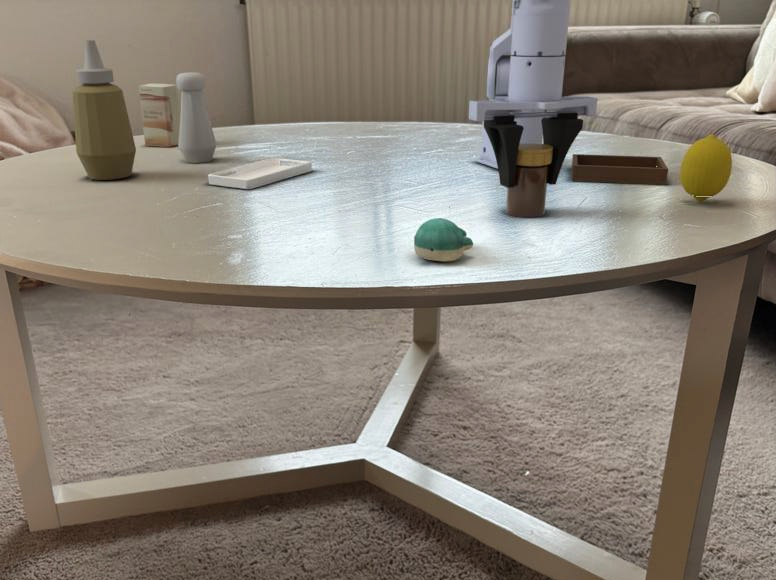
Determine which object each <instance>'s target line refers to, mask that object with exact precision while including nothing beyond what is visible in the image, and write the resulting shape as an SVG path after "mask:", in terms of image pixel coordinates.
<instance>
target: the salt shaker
mask: <svg viewBox="0 0 776 580" xmlns="http://www.w3.org/2000/svg"><path fill="white" fill-rule="evenodd" d="M205 77H206V76H204V75H203V74H202V73H200V72H195V71H193V72H192V71H191V72H189V71H188V72H181V73H178V74H177V76H176V87H177V90H180V91H181V96H180V98H181V99H180V115H179V121H180V130H179V143H178V145H177V146H178V150H179V152H180V153H181V155H182V157H183V159H184V160H185V162H186V163H190V164H191V163H192V164H201V163H209V162H211V161H212V160H213V158H214V154H215V152H216V148H217V141H216V138H215V133H214V130H213V126H212V123H211V118H210V114H209V111H208V107H207V104H206V100H205V97H204V93H203V90H204V89H205V88H206V78H205Z"/></svg>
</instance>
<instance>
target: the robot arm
mask: <svg viewBox="0 0 776 580" xmlns="http://www.w3.org/2000/svg"><path fill="white" fill-rule="evenodd" d="M511 2H512V3H511V14H510V15H511V17H510V19H511V20H510V28H509V29H507V30H506V31H505V32H503V34H500V35H499V37H497V38H495V40H493V42H492V43H491V46H490V47H489V57H488V62H487V79H486V97H487V98H488V99H481V100H480V99H479V100H469V103H468V105H469V106H468V107H469V108H468V120H470V121H473V122H482V126H481V141H480V142H481V144H480V157H476V158H474V159H475V160H474V161H475V162H476V163H479V164H483V165H485V166H487V167H491V168H493V169H497V170H498V177H499V185H500V186H502V187H505V188H512V187H514V183H515V177H516V161H517V154H518V148H519V143H539V144H547V145H550V146H552V147H553V154H552V162H551V163H550V164H548V165H549V170H548V181H547V185H551V186H552V185H556V184H557V182H558V179H559V176H560V173H561V169H562V167H563V164H564V162H565V159H566V157H567V155H568V153H569V151H570V149H571V147H572V145H573V143H574V141H575V140H576V138H577V137H578V135H579V134H580V133H581V131H582V130H583V127H584V119H582V118H578V117H582V116H585V117H596V115H597V107H598V99H599V98H598V97H595V96H589V95H586V96H563V86H564V85H563V84H564V76H565V66H566V65H565V64H566V55H567V44H568V35H569V23H570V22H569V21H570V11H571V2H572V1H571V0H512V1H511Z"/></svg>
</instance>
